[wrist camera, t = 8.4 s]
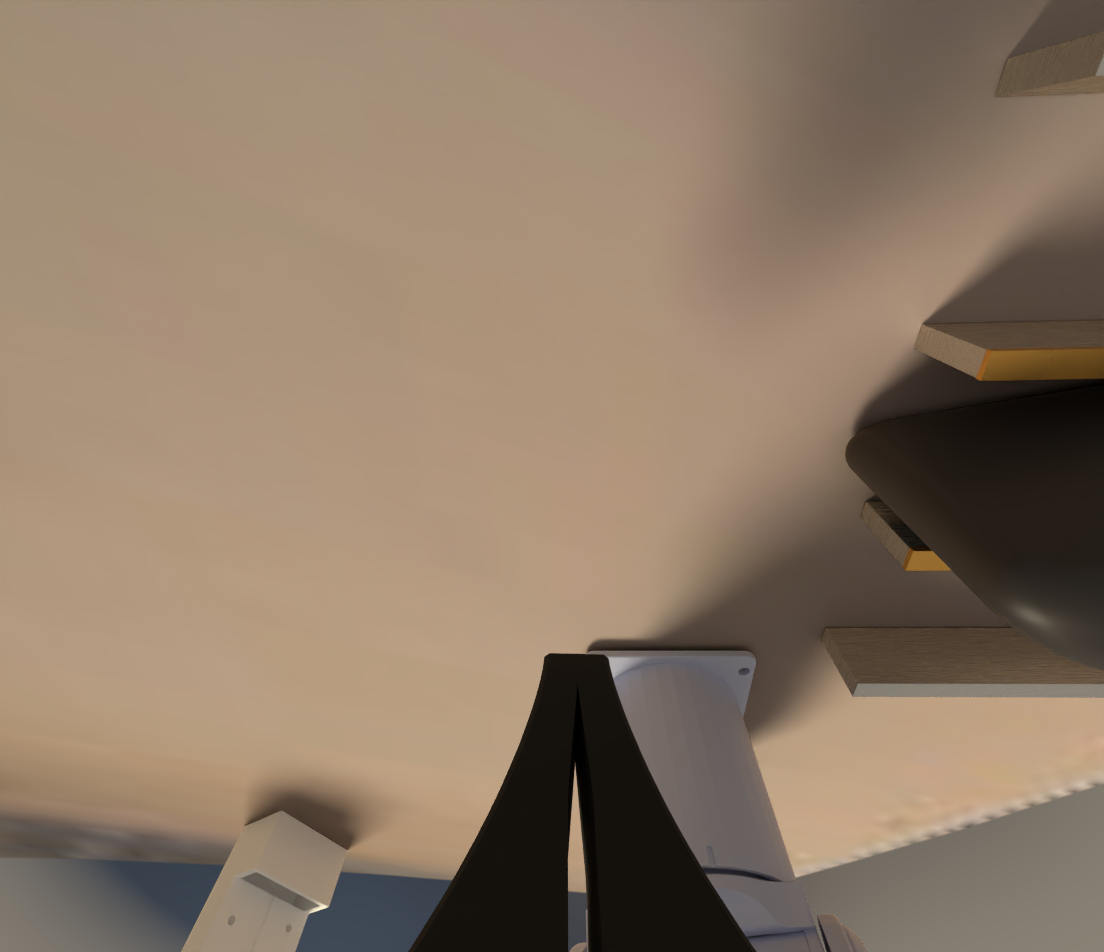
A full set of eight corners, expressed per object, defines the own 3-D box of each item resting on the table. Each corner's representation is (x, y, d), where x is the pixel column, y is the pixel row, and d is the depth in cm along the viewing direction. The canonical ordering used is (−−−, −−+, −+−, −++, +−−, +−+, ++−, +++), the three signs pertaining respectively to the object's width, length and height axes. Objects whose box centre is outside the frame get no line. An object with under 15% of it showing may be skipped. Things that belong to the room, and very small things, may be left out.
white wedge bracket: (342, 932, 35) (227, 1083, 27) (280, 796, 36) (150, 902, 28) (380, 920, 34) (273, 1074, 26) (315, 781, 35) (191, 886, 27)
